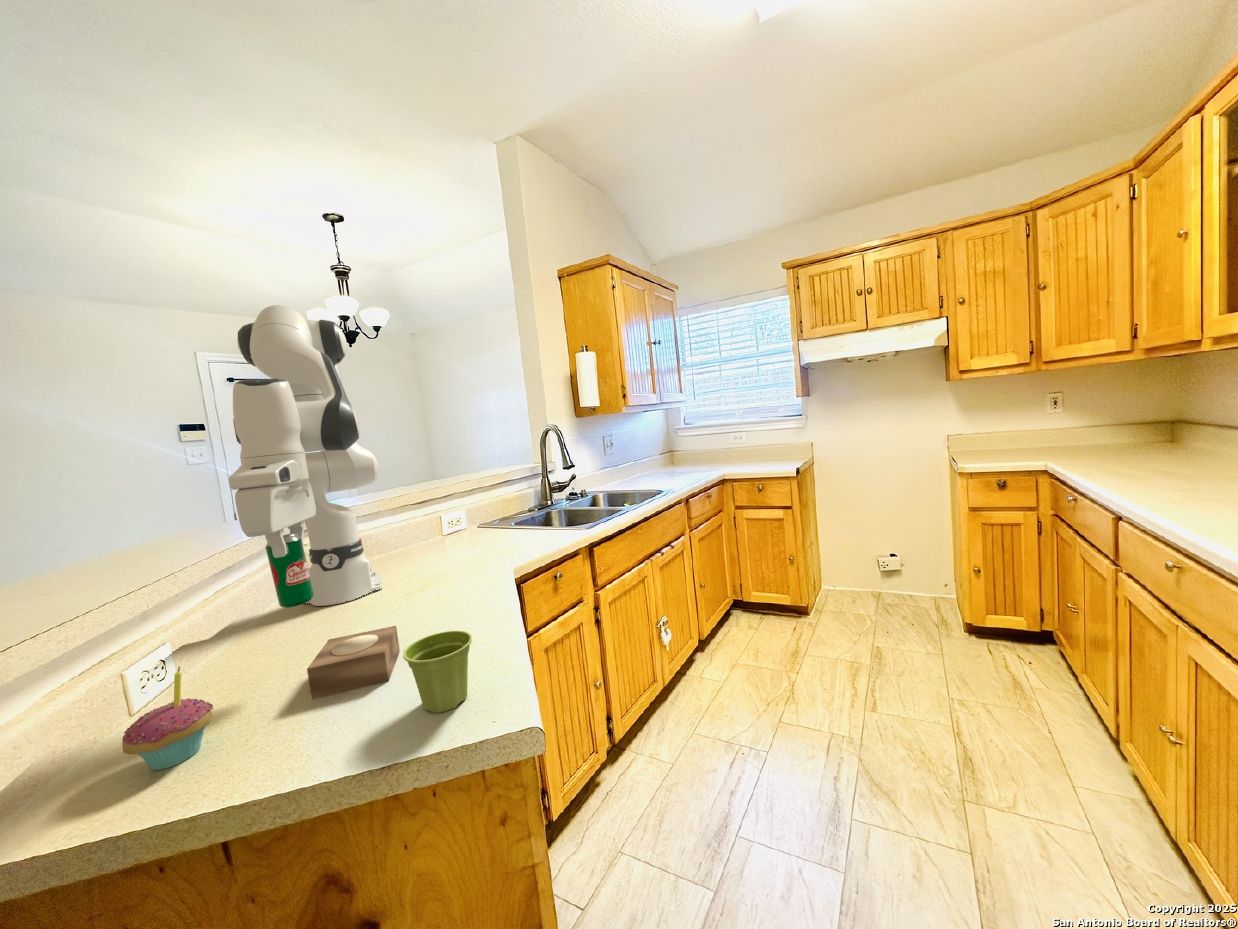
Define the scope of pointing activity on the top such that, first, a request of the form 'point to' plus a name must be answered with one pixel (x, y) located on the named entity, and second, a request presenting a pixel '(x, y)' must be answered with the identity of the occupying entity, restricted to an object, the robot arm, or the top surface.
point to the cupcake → (169, 731)
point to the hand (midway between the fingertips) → (289, 552)
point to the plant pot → (440, 668)
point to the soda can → (291, 573)
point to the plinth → (354, 662)
